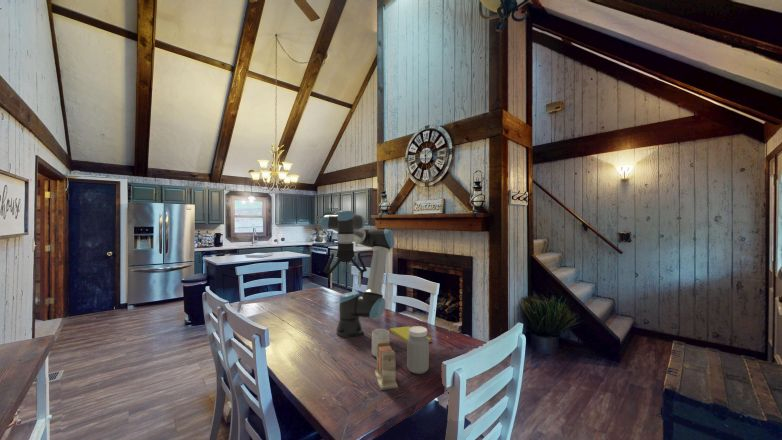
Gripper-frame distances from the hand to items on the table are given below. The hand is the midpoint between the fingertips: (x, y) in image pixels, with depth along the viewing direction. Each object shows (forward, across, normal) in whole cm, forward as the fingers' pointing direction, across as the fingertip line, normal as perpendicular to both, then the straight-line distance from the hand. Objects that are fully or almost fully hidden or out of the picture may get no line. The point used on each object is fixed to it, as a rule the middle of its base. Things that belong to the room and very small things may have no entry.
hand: (345, 286), depth 140 cm
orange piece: (+31, +15, -22) cm, 41 cm away
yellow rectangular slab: (+36, +38, +18) cm, 55 cm away
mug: (+35, +18, +2) cm, 39 cm away
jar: (+35, +31, -17) cm, 50 cm away
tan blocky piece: (+35, +15, -22) cm, 44 cm away
